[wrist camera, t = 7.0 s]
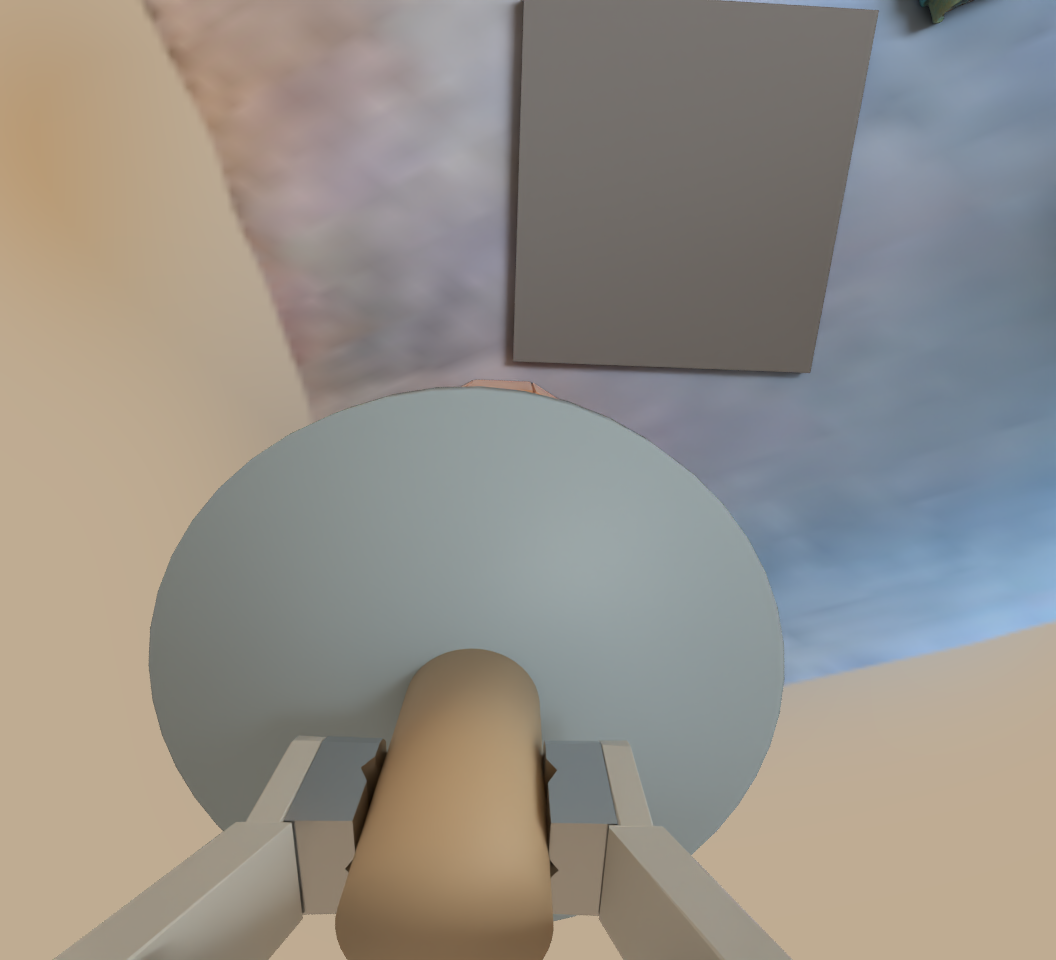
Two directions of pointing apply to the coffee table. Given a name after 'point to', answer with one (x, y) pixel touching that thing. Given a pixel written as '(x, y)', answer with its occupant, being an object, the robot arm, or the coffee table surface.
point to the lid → (466, 646)
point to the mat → (682, 179)
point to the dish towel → (941, 7)
